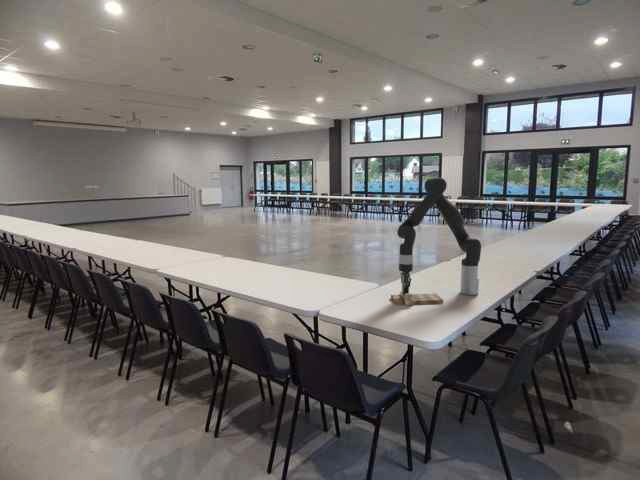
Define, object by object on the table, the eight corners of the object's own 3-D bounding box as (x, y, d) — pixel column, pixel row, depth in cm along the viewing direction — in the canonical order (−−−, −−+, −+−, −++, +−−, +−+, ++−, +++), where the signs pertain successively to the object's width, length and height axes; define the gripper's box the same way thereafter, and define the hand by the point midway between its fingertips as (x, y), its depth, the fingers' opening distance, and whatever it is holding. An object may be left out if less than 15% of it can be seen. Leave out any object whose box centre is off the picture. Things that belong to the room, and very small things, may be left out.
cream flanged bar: (405, 296, 233) (405, 280, 232) (413, 305, 218) (413, 288, 217) (398, 297, 233) (398, 280, 232) (405, 305, 218) (406, 288, 217)
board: (435, 296, 233) (435, 293, 233) (442, 303, 222) (443, 299, 221) (390, 298, 232) (390, 294, 232) (396, 304, 220) (396, 301, 220)
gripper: (416, 264, 216) (415, 296, 219) (409, 259, 230) (408, 289, 233) (402, 265, 216) (401, 296, 219) (396, 259, 230) (395, 289, 232)
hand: (405, 292), depth 226 cm, fingers closed on cream flanged bar, 3 cm apart
